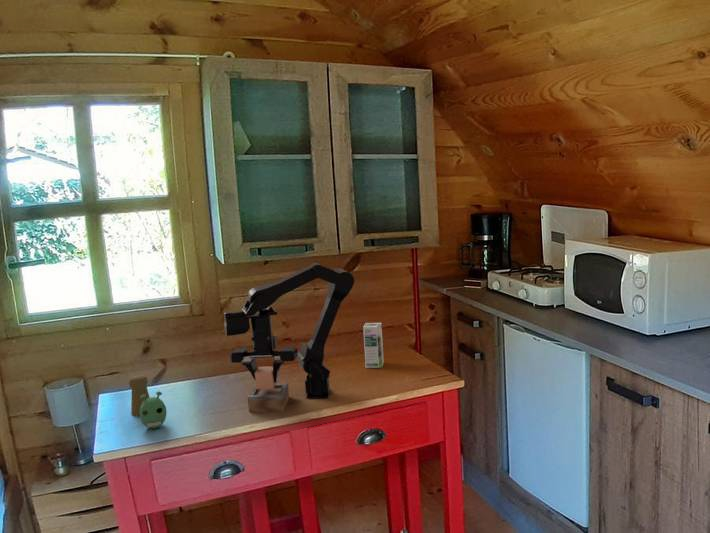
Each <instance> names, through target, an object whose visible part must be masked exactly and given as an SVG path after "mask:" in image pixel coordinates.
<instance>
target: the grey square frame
mask: <svg viewBox="0 0 710 533" xmlns="http://www.w3.org/2000/svg"><path fill="white" fill-rule="evenodd" d="M289 399H290V390H289V382H284V383H283V382H281V383H278V382H277V384H276V385H275V387H274V388H273V389H256V383H255V384H254V385H253V387H252V389H251V391H250V392H249V394H248V395H247V405H248V412H249V413H256V412H257V413H258V412H259V413H261V412H263V413H264V412H283V411H285V408H286V406H287V404H288V401H289Z"/></svg>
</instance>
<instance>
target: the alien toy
mask: <svg viewBox="0 0 710 533" xmlns="http://www.w3.org/2000/svg"><path fill="white" fill-rule="evenodd" d="M155 394H156V395H157V397H156V396H150V398H148V399H145V397H146V395H144V394H143V395H141V397H140V398H141V399H144V402H143V403H142V404H141V407H140V412H139V414H140V416H139V418H140V422H141V423H142V425H143V426H145V427H146V428H147V429H148V428H149V429H157V428H160V427H161V426H162V425H163V424H164V423H165V421H166V418H167V413H168V412H167V407H166V404H165V403H164V401H163V399H160V396H162V395H163V393H162V392H161V391H156V392H155Z"/></svg>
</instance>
